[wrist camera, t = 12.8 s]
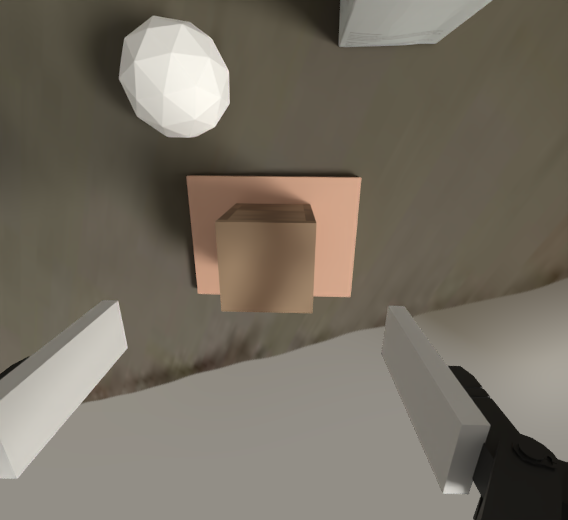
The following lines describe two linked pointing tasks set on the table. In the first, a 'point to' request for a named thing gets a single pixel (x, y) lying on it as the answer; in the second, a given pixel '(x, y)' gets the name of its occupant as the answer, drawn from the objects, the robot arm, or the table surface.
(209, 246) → the base plate
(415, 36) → the skincare box
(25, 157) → the table surface
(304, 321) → the table surface
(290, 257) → the cardboard carton
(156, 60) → the ball
